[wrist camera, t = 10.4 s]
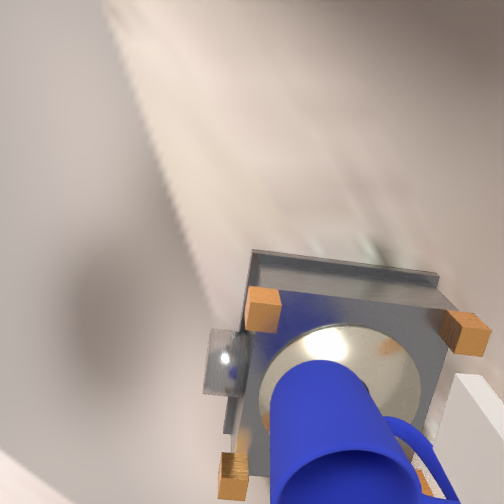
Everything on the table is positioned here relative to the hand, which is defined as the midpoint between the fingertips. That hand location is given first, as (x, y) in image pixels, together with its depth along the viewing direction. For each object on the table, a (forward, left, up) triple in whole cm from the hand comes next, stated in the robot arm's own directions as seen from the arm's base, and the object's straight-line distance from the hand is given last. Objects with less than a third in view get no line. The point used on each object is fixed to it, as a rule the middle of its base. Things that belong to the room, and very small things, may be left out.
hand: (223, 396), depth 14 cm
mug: (+12, +10, -18) cm, 24 cm away
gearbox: (+12, +10, -24) cm, 29 cm away
